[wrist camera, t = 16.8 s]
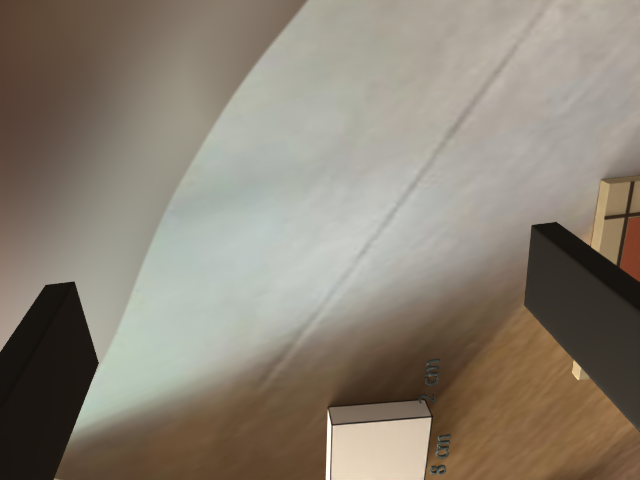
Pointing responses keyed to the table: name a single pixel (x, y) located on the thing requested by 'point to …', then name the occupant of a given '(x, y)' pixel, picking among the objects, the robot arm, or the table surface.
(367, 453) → the container
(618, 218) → the game board
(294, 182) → the table surface
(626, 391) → the robot arm
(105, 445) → the table surface
